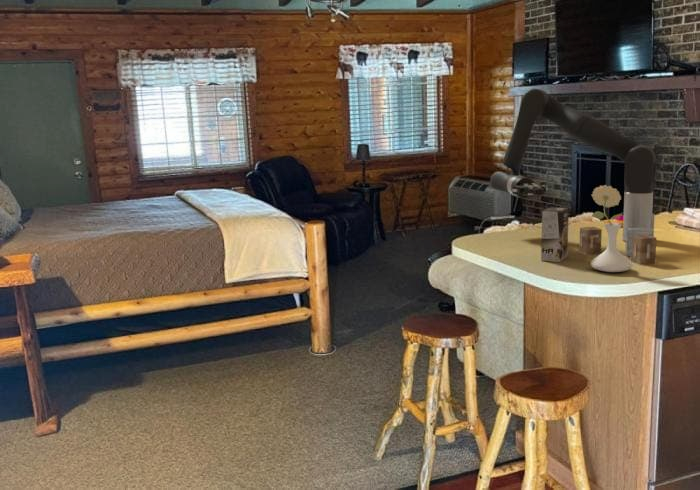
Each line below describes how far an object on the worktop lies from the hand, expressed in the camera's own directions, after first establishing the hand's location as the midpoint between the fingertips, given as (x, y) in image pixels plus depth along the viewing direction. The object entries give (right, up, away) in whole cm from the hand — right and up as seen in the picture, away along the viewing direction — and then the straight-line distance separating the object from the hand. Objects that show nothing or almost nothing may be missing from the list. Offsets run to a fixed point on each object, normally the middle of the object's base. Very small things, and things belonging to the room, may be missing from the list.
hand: (540, 192), depth 222 cm
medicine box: (+29, -21, -7) cm, 37 cm away
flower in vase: (+13, -25, -24) cm, 37 cm away
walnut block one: (+27, -23, -17) cm, 39 cm away
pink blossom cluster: (+45, -10, +46) cm, 65 cm away
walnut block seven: (+16, -20, 0) cm, 26 cm away
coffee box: (+2, -22, -8) cm, 23 cm away
